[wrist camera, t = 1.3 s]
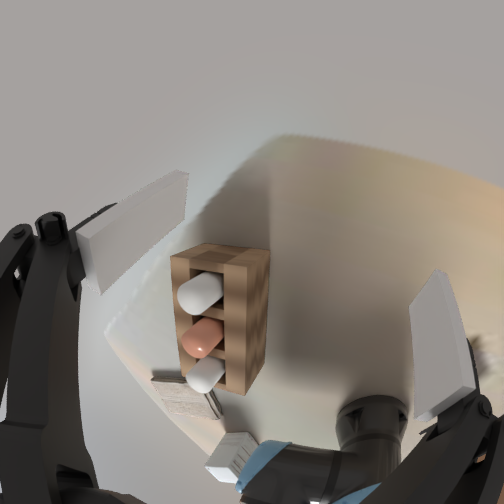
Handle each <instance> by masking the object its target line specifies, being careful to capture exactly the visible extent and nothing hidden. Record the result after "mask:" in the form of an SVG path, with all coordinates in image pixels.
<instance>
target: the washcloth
mask: <svg viewBox="0 0 504 504" xmlns="http://www.w3.org/2000/svg"><path fill="white" fill-rule="evenodd" d="M151 383H152V384H153V386H154V387H155V389H156V391H157V392H158V393H159V395H160V396H161V398H162V401H163V402H164V404H165V406H166V408H167V409H168V411H169V412H171V413H175V414H181V415H186V416H193V417H199V418H207V419H215V420H217V419H220V416H222V415H223V414H222V413H221V408H220V405H219V403H218V401H217V399H216V398H215V396H214V393H213V391H212V389H211V390H210V392H208V393H200V392H197V391H195V390H194V389H193V388H192V387H191V386H190V385H189V384H188V382H187V380H186V379H184V378H166V377H154V378H152V379H151Z"/></svg>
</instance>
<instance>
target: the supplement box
mask: <svg viewBox="0 0 504 504" xmlns="http://www.w3.org/2000/svg"><path fill="white" fill-rule="evenodd" d="M258 446H259V445H258V444H257V443H256V441H255V440H254V439H253V437H252V436H251V435H250V434H249V432H237V433H225V435H224V436H223V438H222V440H221V441H220V443H219V444H218V446H217V447H216V449H215V450H214V452H213V453H212V455H211V456H210V458H209V460H208V461H207V462H206V464H205V467H206V469H207V470H208V471H210V472H211V474H212V475H213V476H214V477H215V478H217V479H218V480H219V481H220V482H229V483H237V481H238V477H239V475H240V473H241V471H242V469H243V467H244V465H245V463H246V462H247V460H248V459H249V457H250V456H251V454H252V453H253V451H254V450H255V449H256V448H257V447H258Z"/></svg>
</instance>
